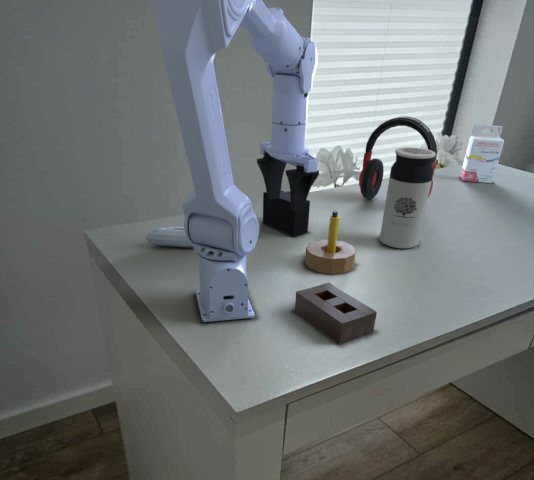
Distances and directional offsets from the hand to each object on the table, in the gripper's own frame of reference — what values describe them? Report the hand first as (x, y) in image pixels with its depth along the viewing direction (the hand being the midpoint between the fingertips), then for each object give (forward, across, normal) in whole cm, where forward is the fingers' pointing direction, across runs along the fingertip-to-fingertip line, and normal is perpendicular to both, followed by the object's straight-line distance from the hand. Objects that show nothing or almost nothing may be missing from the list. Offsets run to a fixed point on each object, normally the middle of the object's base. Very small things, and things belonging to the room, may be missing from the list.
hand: (285, 204), depth 89 cm
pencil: (+10, -6, -6) cm, 14 cm away
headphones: (+10, +15, -44) cm, 48 cm away
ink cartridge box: (+10, +20, -82) cm, 85 cm away
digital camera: (+10, +13, -10) cm, 20 cm away
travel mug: (+10, -5, -26) cm, 28 cm away
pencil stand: (+10, -24, +7) cm, 27 cm away
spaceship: (+11, +15, +10) cm, 21 cm away
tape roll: (+10, -6, -6) cm, 14 cm away
